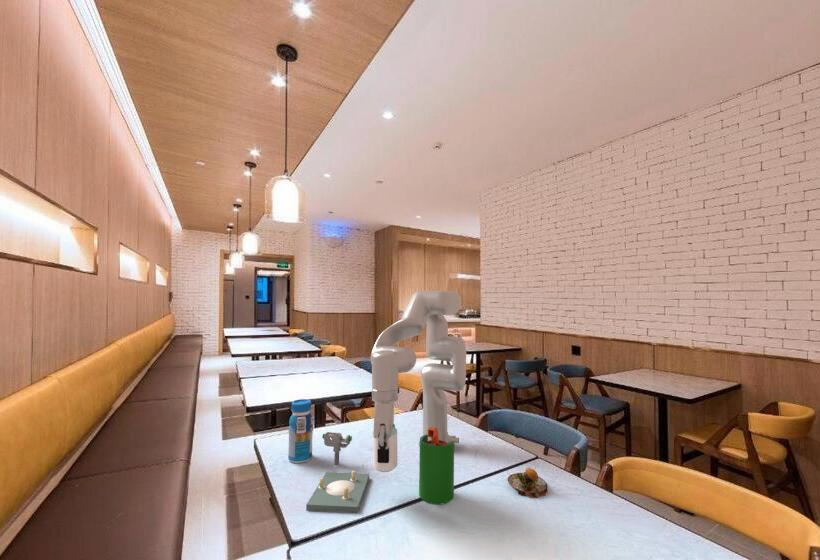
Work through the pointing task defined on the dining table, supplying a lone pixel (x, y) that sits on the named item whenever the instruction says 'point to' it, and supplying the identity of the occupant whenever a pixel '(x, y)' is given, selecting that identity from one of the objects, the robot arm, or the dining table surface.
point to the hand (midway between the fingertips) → (385, 455)
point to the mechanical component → (336, 443)
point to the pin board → (339, 492)
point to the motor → (436, 469)
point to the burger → (528, 483)
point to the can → (392, 452)
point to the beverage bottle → (300, 432)
